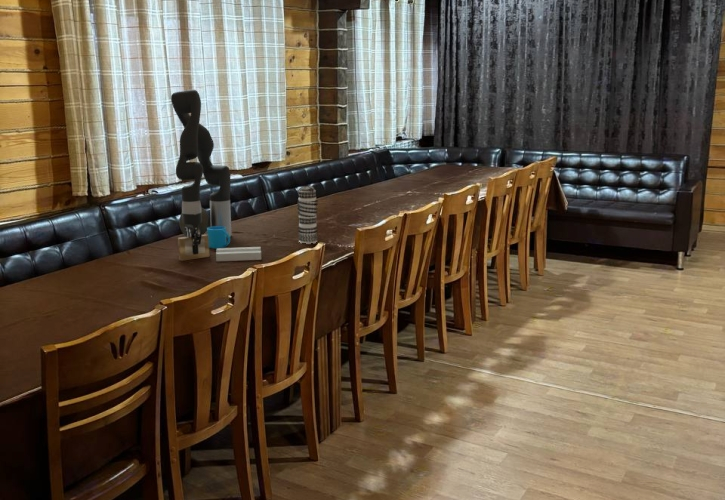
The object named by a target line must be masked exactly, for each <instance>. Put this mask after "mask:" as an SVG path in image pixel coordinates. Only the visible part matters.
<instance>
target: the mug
mask: <svg viewBox="0 0 725 500" xmlns="http://www.w3.org/2000/svg"><path fill="white" fill-rule="evenodd" d="M206 235H208V239H209V249H217V248H227V246H228V245H230V243H231V236H229V234H228V233H227V232H226V227H223V226H213V227H211V226H209V227H208V228H207V231H206ZM226 236H227V238H226Z"/></svg>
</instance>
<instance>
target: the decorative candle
mask: <svg viewBox="0 0 725 500" xmlns="http://www.w3.org/2000/svg"><path fill="white" fill-rule="evenodd" d="M316 191H317V190H316V189H315V187H313V186H302V187H300V188H299V189H298V199H297V200H296V202H297V211H298V212H297V215H298V216H297V217H298V218H299V222H298V243H299V242H300V243H299V244H302V243H306V244H305V245H311V243H313V244H317V243H318V230H317V229H318V226H317V217H318V215H317V213H318V211H317V210H318V207H317V206H318V205H319V204H318V203H317V202H318V201H319V200H318V199H317V196H316V195H317V194H316V193H317V192H316ZM316 242H317V243H316Z"/></svg>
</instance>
